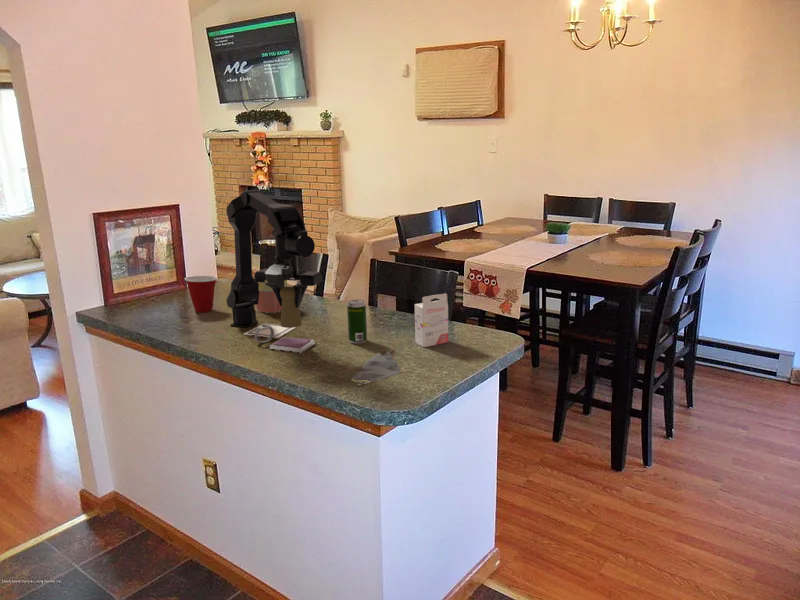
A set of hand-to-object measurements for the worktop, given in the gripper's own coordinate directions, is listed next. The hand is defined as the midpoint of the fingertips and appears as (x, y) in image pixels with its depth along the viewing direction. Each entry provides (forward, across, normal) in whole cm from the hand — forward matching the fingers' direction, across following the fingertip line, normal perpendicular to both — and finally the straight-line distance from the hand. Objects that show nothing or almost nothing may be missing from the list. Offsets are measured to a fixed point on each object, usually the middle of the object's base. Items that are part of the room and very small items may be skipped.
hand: (289, 306), depth 176 cm
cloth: (+13, +30, -9) cm, 34 cm away
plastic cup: (+12, -49, +25) cm, 56 cm away
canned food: (+12, -27, +34) cm, 45 cm away
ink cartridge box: (+12, +37, +15) cm, 42 cm away
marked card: (+12, -14, +11) cm, 21 cm away
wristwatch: (+12, -10, +1) cm, 16 cm away
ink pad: (+12, 0, 0) cm, 12 cm away
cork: (+5, 0, 0) cm, 5 cm away
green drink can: (+12, +16, +10) cm, 22 cm away
